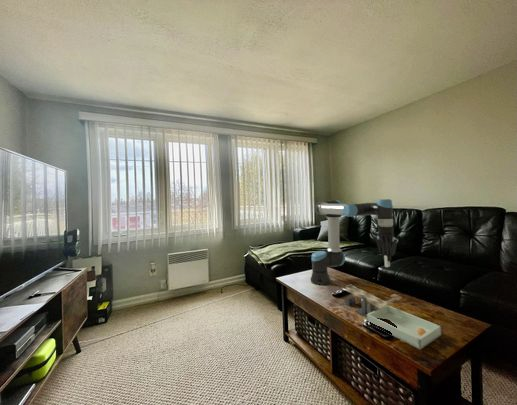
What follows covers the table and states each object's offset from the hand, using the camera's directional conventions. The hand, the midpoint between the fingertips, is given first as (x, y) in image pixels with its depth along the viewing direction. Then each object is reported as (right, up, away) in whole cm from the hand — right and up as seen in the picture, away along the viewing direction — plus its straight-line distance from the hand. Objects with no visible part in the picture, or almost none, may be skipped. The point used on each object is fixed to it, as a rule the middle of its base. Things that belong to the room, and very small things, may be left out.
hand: (387, 266), depth 119 cm
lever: (-8, -17, 0) cm, 19 cm away
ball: (-2, -21, -27) cm, 34 cm away
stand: (-15, -25, 0) cm, 29 cm away
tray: (-5, -24, -19) cm, 31 cm away
